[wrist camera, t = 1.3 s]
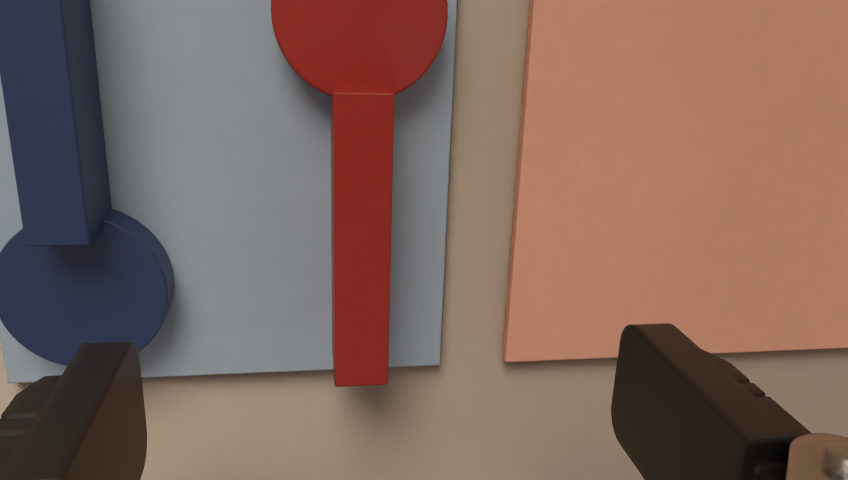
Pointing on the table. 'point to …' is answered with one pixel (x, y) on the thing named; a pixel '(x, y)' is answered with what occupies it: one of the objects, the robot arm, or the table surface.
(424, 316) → the blue mat
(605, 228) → the red mat
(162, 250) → the blue spoon
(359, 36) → the red spoon
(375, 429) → the table surface
